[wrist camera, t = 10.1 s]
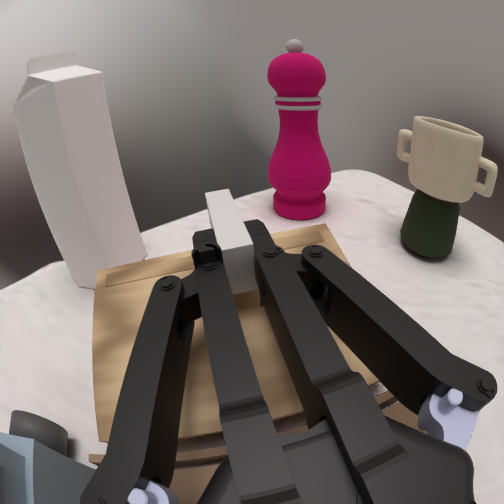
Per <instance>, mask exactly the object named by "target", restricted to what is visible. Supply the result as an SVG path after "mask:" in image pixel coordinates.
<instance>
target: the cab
mask: <svg viewBox="0 0 504 504" xmlns="http://www.w3.org/2000/svg"><path fill="white" fill-rule="evenodd" d="M67 437H68V433H67V431H66V430H65V429H64V428H63V427H61V426H60V425H58V424H56V423H54V422H52V421H50V420H48V419H46V418H43V417H41V416H38V415H35V414H32V413H29V412H25V411H19V410H15V411H12V415H11V422H10V430H9V434H6V433H1V432H0V504H80V498H81V495H82V493H83V491H84V489H85V488H86V486H87V484H88V483H89V481H90V479H91V478H92V476H93V474H94V473H95V469H92V468H90V467H88V466H85V465H83V464H81V463H79V462H76V461H74V460H72V459H70V458H68V457H66V456H67Z"/></svg>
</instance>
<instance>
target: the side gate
mask: <svg viewBox="0 0 504 504" xmlns="http://www.w3.org/2000/svg"><path fill="white" fill-rule="evenodd" d="M270 235H271V237H272V239H273V241H274V242H275V244H276V245H277V246H279V247H281V248H282V249H283V250H284V251H285V252H286V253H291V254H302V250H303V248H304V247H306V246H309V245H321V246H323V247H325V248H327V249H328V250H330V251H331V252H332V253H333V254H335V255H336V256H337V257H338V258H340V259H341V260H342V261H344V262H345V263H346V264H347V265H349V266H350V264H349V263H348V261H347V259H346V257H345V256H344V254H343V252H342V250H341V249H340V247H339V245H338V244H337V242H336V240H335V239H334V237H333V235H332V234H331V232H330V230H329V229H328V227H327V225H326V224H320V225H315V226H310V227H305V228H299V229H294V230H289V231H284V232H279V233H274V234H270ZM191 253H192V250H190V251H186V252H181V253H176V254H171V255H167V256H162V257H157V258H153V259H148V260H143V261H139V262H134V263H130V264H125V265H121V266H116V267H112V268H107V269H103V270H98V271H97V275H96V285H95V297H94V312H93V346H92V352H93V385H94V400H95V411H96V421H97V429H98V436H99V441H100V442H107V443H108V441H109V436H110V432H111V427H112V423H113V419H114V414H115V410H116V406H117V402H118V398H119V394H120V390H121V387H122V383H123V379H124V376H125V372H126V369H127V365H128V362H129V358H130V355H131V352H132V348H133V345H134V342H135V339H136V336H137V332H138V329H139V326H140V323H141V320H142V317H143V314H144V311H145V308H146V306H147V303H148V300H149V297H150V294H151V291H152V289H153V286H154V284H155V283H156V281H157V280H159V279H160V278H162V277H164V276H168V275H175V276H178V277H180V279H182V278H184V277H186V276H188V275H190V274H191V273H192V272H193V271H194V269H195V266H194V263H193V259H192V255H191ZM350 267H351V266H350ZM233 298H234V302H235V305H236V309H237V312H238V316H239V319H240V322H241V326H242V329H243V333H244V336H245V339H246V343H247V346H248V349H249V353H250V356H251V359H252V363H253V366H254V369H255V372H256V375H257V379H258V382H259V385H260V388H261V391H262V395H263V397H264V400H265V401H266V403H267V406H268V408H269V411H270V414H271V417H272V420H273V421H275V420H279V419H283V418H286V417H289V416H293V415H296V414H299V413H302V412H304V410H303V407H302V404H301V402H300V399H299V397H298V394H297V392H296V389H295V387H294V384H293V381H292V379H291V376H290V374H289V371H288V369H287V366H286V363H285V361H284V358H283V356H282V353H281V350H280V348H279V345H278V343H277V340H276V337H275V335H274V332H273V330H272V327H271V324H270V322H269V319H268V317H267V314H266V311H265V309H264V306H263V307H261V305H260V293H259V287H258V284H257V289H256V290H252V291H247V292H243V293H238V294H233ZM327 327H328V326H327ZM328 329H329V330H330V332H331V334H332V336H333V338H334V339H335V341H336V343H337V345H338V347H339V349H340V351H341V352H342V354H343V356H344V358H345V360H346V362H347V364H348V365H349V367H350V369H351V370H352V371H353V372H359V373H360V374H361V375H362V376H363V378H364V379H365V381H366V383H367V384H368V386H369V387H370V386H372V385H374V384H376V383H378V382H380V381H379V380H378V379H377V378H376V377H375V376H374V374H373V373H372V372H371V371H370V370H369V369H368V368H367V367H366V366H365V365H364V364H363V363H362V362H361V361H360V360H359V359H358V357H357V356H356V355H355V354H354V353H353V352H352V351H351V350H350V349H349V348H348V347H347V346H346V345H345V344H344V343H343V342H342V341H341V339H340V338H339V337H338V336H337V335H336V334H335V333H334V332H333V331H332V330H331V329H330V328H329V327H328ZM219 433H223V431H222V427H221V423H220V418H219V405H218V400H217V395H216V390H215V385H214V380H213V375H212V370H211V365H210V360H209V354H208V349H207V343H206V337H205V332H204V326H203V319H202V317H201V318H199V319H197V320H195V325H194V331H193V337H192V343H191V349H190V356H189V362H188V368H187V375H186V382H185V389H184V396H183V403H182V411H181V418H180V426H179V435H178V440H179V439H187V438H194V437H201V436H207V435H213V434H219Z"/></svg>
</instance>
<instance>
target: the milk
mask: <svg viewBox="0 0 504 504" xmlns="http://www.w3.org/2000/svg"><path fill="white" fill-rule="evenodd" d="M27 71H28V77H27V79H26V81H25V83H24V85H23V87H22V89H21V91H20V93H19V95H18V97H17V100H16V102H15V104H14V113H15V118H16V123H17V128H18V132H19V137H20V141H21V145H22V149H23V153H24V156H25V160H26V163H27V167H28V170H29V173H30V177H31V180H32V183H33V186H34V189H35V191H36V194H37V197H38V200H39V203H40V205H41V208H42V210H43V213H44V215H45V218H46V220H47V223H48V225H49V227H50V230H51V232H52V234H53V237H54V239H55V241H56V243H57V245H58V248H59V250H60V252H61V254H62V256H63V258H64V260H65V262H66V264H67V266H68V268H69V270H70V272H71V274H72V276H73V278H74V280H75V281H76V283H77V285H78V286H79V287H85V288H91V289H95V285H96V275H97V271H98V270H103V269H107V268H112V267H116V266H121V265H125V264H130V263H134V262H139V261H142V260H143V259H144V258H145V256H146V255H147V253H146V250H145V247H144V244H143V241H142V238H141V235H140V232H139V229H138V226H137V223H136V219H135V216H134V213H133V209H132V206H131V203H130V199H129V195H128V192H127V189H126V185H125V181H124V177H123V173H122V169H121V165H120V161H119V157H118V153H117V148H116V144H115V140H114V135H113V130H112V125H111V120H110V115H109V110H108V104H107V98H106V92H105V85H104V79H103V73H102V72H100V71H97V70H93V69H89V68H85V67H81V66H78V65H77V58H76V53H75V52H68V53H59V54H52V55H46V56H40V57H34V58H30V59H28V61H27Z"/></svg>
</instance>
